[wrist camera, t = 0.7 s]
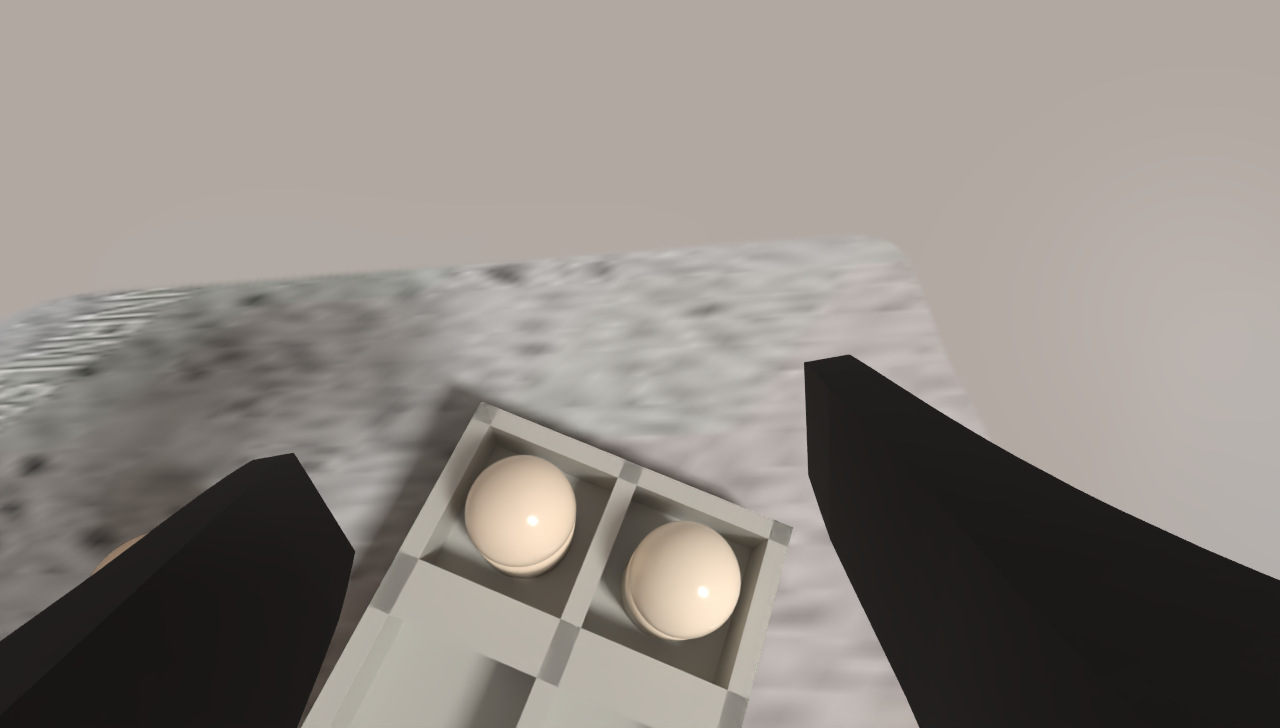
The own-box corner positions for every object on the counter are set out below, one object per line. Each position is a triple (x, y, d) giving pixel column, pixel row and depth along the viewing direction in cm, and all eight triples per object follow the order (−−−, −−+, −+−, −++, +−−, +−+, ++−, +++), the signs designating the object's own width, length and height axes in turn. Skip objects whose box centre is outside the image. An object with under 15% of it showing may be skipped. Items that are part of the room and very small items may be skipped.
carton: (655, 962, 20) (669, 1008, 18) (291, 796, 21) (252, 816, 18) (769, 540, 27) (792, 527, 24) (489, 426, 28) (481, 401, 25)
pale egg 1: (550, 594, 24) (547, 578, 19) (459, 556, 25) (433, 530, 20) (589, 502, 26) (595, 465, 21) (504, 467, 26) (491, 423, 21)
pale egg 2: (699, 657, 24) (735, 657, 19) (605, 618, 24) (616, 607, 19) (728, 560, 26) (768, 536, 21) (640, 524, 26) (659, 492, 21)
